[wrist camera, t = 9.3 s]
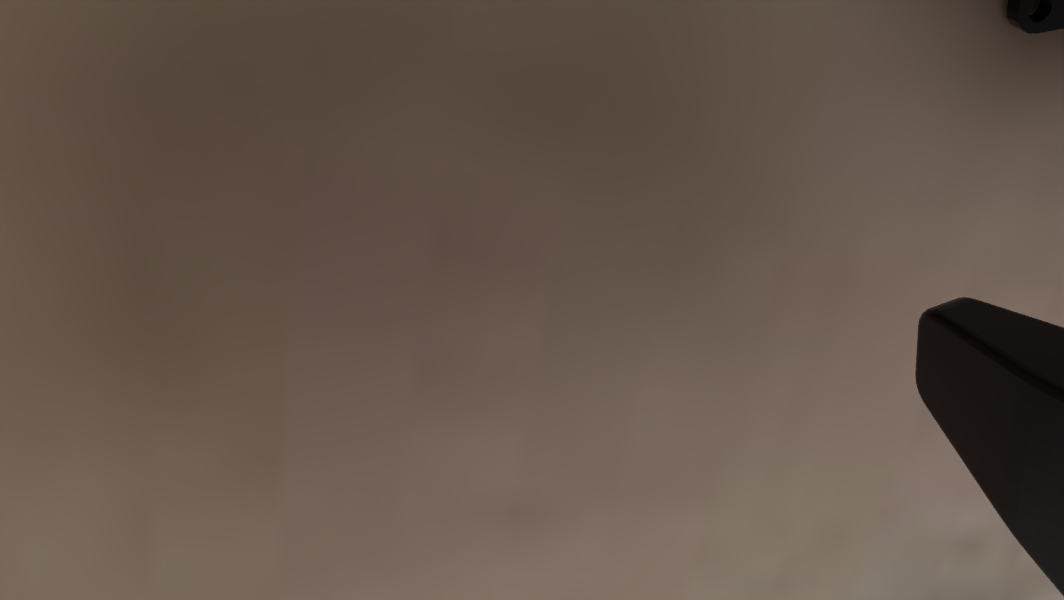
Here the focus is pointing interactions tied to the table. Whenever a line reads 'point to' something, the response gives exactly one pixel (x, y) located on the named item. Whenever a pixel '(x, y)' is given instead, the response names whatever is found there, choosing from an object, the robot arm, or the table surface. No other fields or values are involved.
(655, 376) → the table surface
